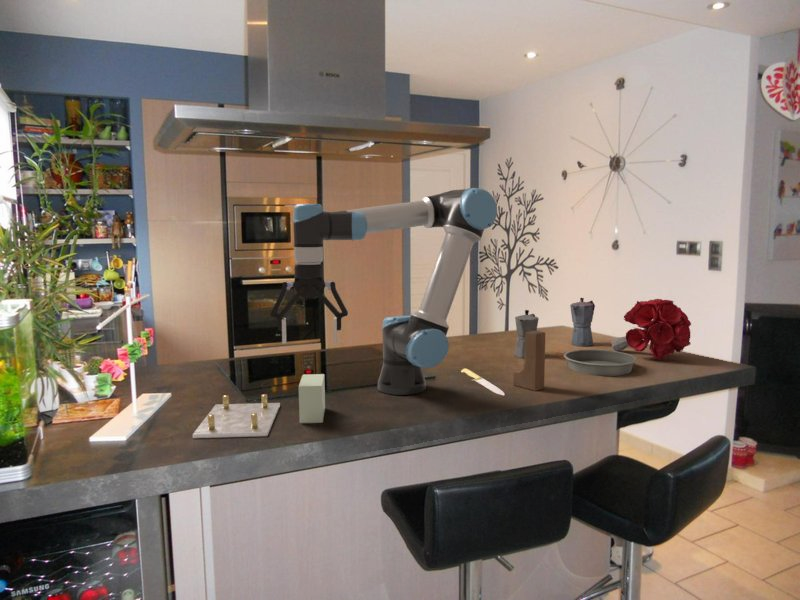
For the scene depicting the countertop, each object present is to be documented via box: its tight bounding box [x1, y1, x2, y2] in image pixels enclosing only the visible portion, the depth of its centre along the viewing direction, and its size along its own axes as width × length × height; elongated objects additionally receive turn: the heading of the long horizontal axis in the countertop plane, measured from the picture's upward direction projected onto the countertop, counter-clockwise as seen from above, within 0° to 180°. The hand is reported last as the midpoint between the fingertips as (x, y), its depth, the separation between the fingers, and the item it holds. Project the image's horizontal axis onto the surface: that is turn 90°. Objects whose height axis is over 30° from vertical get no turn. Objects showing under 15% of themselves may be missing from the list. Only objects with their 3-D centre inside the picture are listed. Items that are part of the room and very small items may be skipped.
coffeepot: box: [514, 309, 539, 359], centre depth 232 cm, size 15×9×18 cm, turn 149°
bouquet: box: [611, 298, 692, 361], centre depth 228 cm, size 22×24×30 cm
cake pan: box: [563, 348, 638, 377], centre depth 212 cm, size 25×25×4 cm
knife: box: [460, 367, 505, 396], centre depth 195 cm, size 1×32×5 cm
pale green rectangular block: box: [298, 373, 326, 424], centre depth 162 cm, size 6×12×10 cm, turn 4°
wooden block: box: [512, 330, 546, 392], centre depth 188 cm, size 9×4×18 cm, turn 39°
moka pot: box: [569, 297, 596, 347], centre depth 252 cm, size 10×15×20 cm, turn 133°
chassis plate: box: [192, 393, 281, 439], centre depth 158 cm, size 18×24×4 cm
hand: (310, 342), depth 160 cm, fingers open, 13 cm apart
